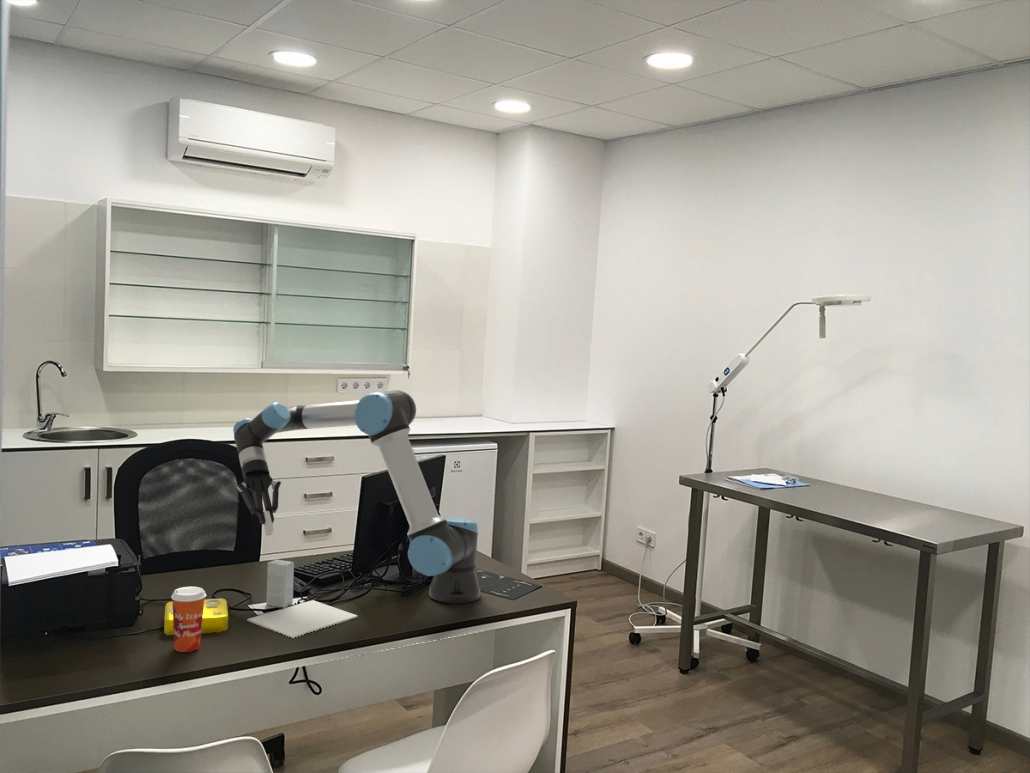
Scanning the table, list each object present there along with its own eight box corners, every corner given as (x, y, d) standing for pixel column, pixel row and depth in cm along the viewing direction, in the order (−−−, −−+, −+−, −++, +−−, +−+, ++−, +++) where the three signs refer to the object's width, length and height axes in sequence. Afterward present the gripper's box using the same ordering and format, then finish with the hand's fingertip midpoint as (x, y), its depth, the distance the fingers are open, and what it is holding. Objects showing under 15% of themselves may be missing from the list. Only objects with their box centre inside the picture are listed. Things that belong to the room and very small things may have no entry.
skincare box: (293, 604, 237) (294, 562, 236) (284, 608, 233) (285, 565, 232) (274, 600, 239) (276, 558, 238) (265, 605, 235) (267, 562, 234)
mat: (357, 617, 229) (357, 615, 229) (292, 638, 211) (292, 636, 211) (312, 601, 240) (312, 600, 240) (247, 620, 222) (247, 619, 222)
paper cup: (170, 656, 197) (171, 597, 196) (169, 644, 204) (170, 587, 203) (205, 652, 200) (207, 594, 199) (203, 641, 207) (205, 584, 206)
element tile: (165, 617, 222) (165, 599, 222) (225, 613, 228) (226, 595, 227) (163, 638, 208) (164, 619, 208) (228, 633, 214) (228, 614, 214)
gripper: (272, 471, 261) (288, 537, 249) (229, 473, 254) (243, 541, 242) (278, 457, 257) (295, 523, 244) (235, 458, 249) (250, 527, 237)
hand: (269, 532), depth 243 cm, fingers closed
